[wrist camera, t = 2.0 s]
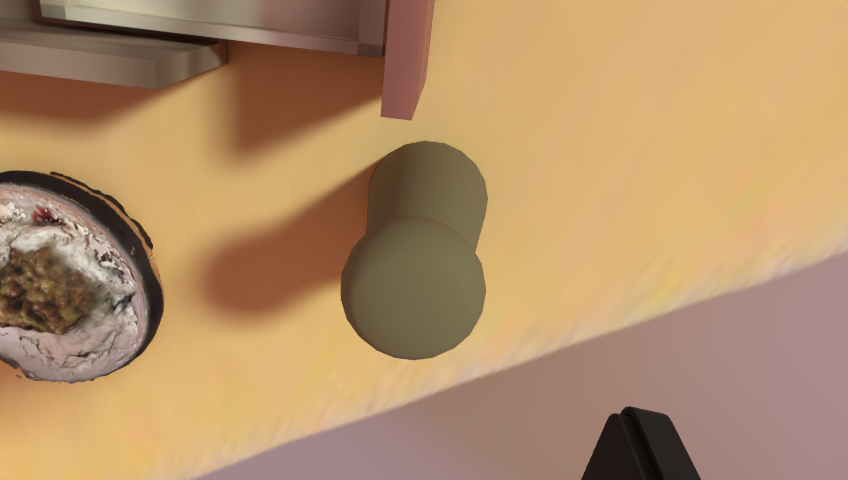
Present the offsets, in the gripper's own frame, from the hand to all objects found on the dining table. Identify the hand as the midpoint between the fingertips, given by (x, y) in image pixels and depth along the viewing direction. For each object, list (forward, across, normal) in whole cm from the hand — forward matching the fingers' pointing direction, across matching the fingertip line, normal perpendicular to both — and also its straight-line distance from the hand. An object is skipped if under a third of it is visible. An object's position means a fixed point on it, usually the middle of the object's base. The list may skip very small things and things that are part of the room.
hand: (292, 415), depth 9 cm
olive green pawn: (+21, -2, +4) cm, 22 cm away
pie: (+22, +17, +13) cm, 31 cm away
